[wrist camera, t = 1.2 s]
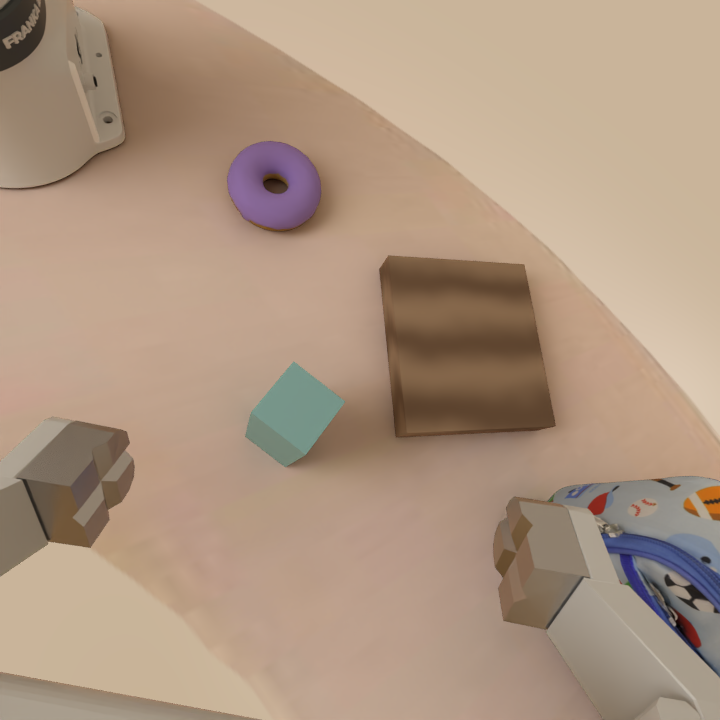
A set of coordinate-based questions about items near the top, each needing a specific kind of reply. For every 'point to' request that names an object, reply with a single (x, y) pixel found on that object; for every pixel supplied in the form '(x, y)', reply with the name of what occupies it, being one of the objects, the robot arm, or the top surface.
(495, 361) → the walnut riser
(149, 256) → the top surface
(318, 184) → the donut
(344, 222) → the top surface
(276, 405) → the teal block
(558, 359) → the top surface
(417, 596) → the top surface
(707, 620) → the lunch box
